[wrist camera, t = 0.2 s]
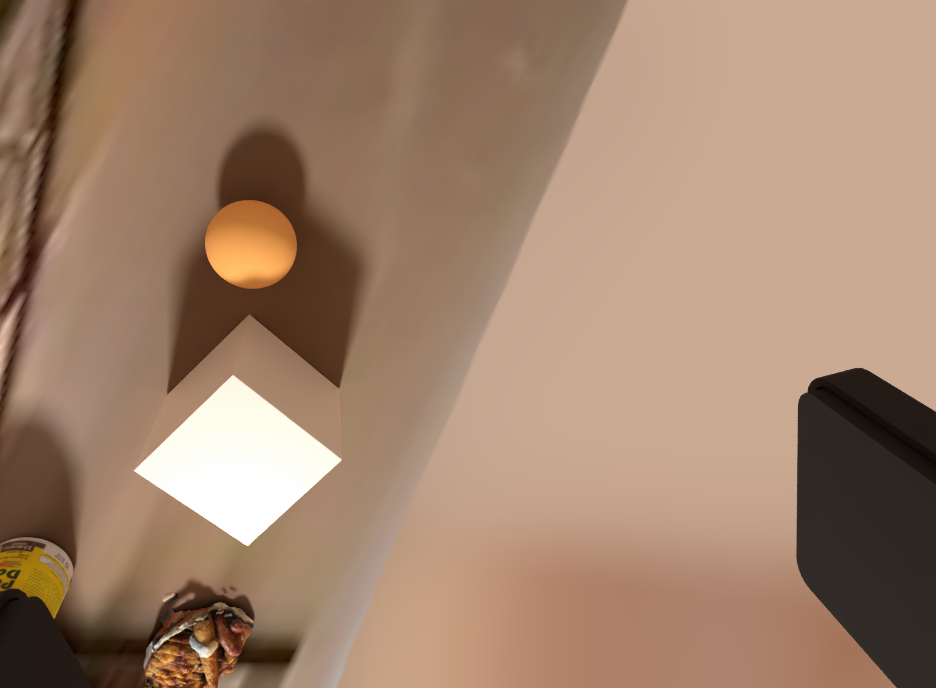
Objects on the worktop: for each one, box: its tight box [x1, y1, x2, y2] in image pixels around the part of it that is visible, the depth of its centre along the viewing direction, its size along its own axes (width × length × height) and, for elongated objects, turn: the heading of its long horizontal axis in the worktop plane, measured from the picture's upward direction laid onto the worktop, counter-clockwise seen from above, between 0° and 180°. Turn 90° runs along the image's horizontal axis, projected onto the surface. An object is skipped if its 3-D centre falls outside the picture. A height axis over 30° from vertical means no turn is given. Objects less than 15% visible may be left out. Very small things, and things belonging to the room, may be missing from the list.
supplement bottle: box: [0, 537, 73, 618], centre depth 45 cm, size 6×6×10 cm
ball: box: [205, 200, 297, 289], centre depth 41 cm, size 5×5×5 cm
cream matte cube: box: [134, 314, 342, 546], centre depth 43 cm, size 8×8×9 cm
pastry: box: [141, 592, 253, 688], centre depth 54 cm, size 7×12×4 cm, turn 159°
